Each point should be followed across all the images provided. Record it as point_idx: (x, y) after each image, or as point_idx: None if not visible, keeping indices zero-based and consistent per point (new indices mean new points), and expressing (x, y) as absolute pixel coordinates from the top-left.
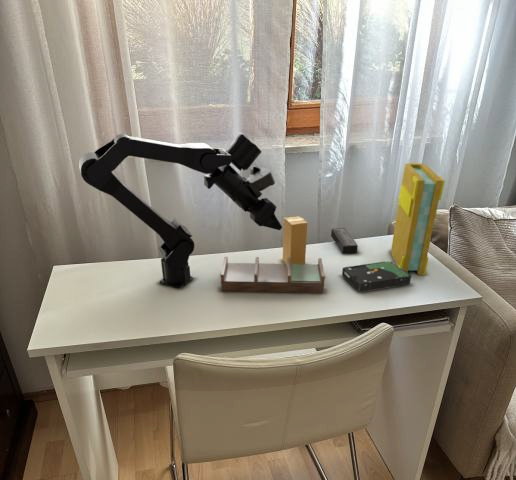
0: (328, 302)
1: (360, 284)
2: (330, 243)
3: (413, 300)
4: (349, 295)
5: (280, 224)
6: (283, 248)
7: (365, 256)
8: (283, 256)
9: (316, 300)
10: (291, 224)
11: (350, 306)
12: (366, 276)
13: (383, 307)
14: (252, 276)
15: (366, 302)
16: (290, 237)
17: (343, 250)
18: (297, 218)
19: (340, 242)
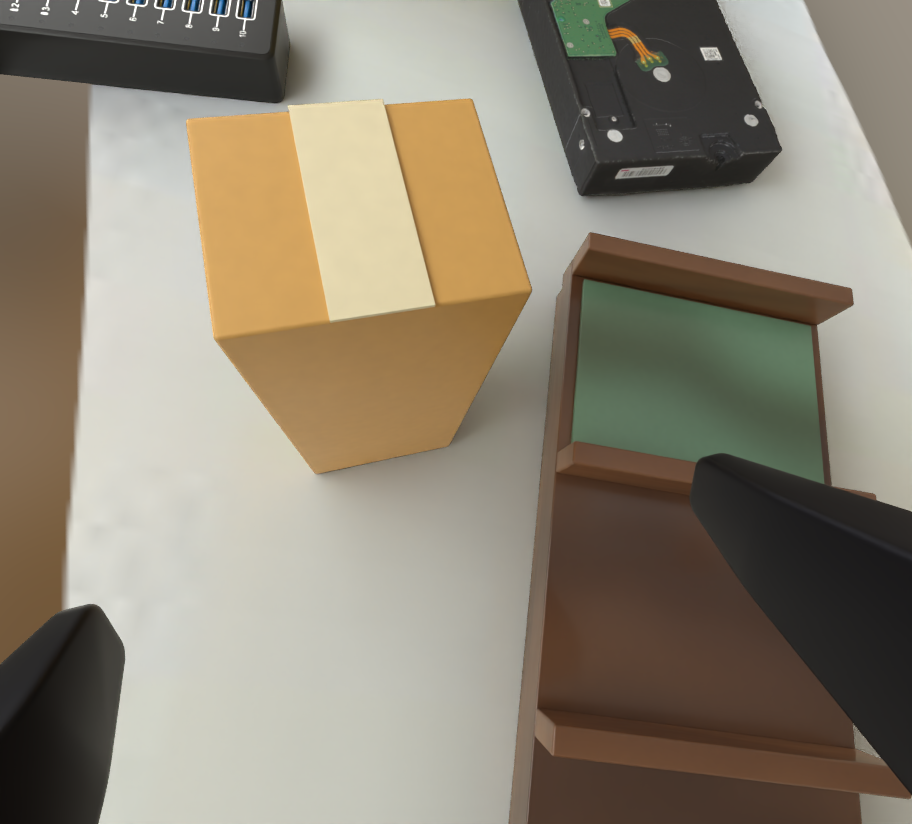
0: (846, 339)
1: (779, 152)
2: (98, 113)
3: (788, 35)
4: (770, 232)
5: (803, 478)
6: (314, 451)
7: (344, 22)
8: (326, 463)
9: (835, 389)
10: (521, 294)
11: (868, 260)
12: (703, 98)
13: (856, 147)
14: (775, 786)
15: (825, 190)
16: (471, 371)
17: (277, 83)
18: (300, 161)
19: (198, 54)
